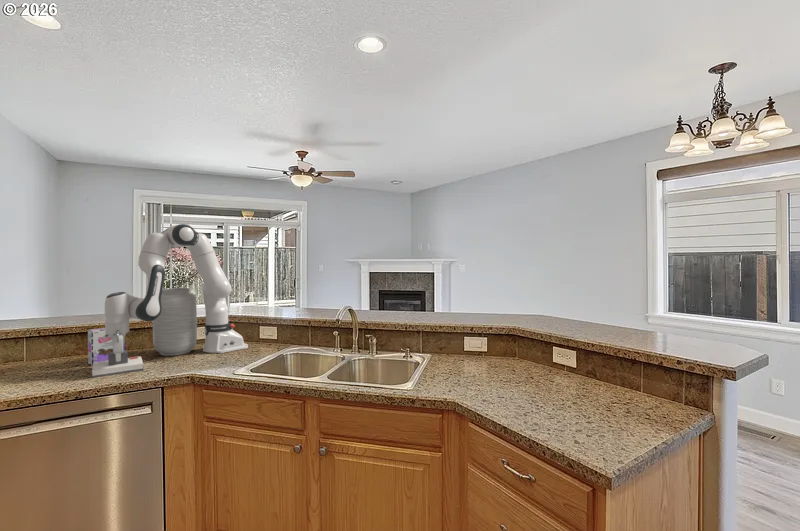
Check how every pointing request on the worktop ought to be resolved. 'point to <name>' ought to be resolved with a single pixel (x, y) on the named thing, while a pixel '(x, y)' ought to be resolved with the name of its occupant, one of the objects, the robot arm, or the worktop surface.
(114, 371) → the socket
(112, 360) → the plug
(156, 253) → the robot arm
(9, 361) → the worktop surface
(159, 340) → the vase
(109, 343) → the candy box
